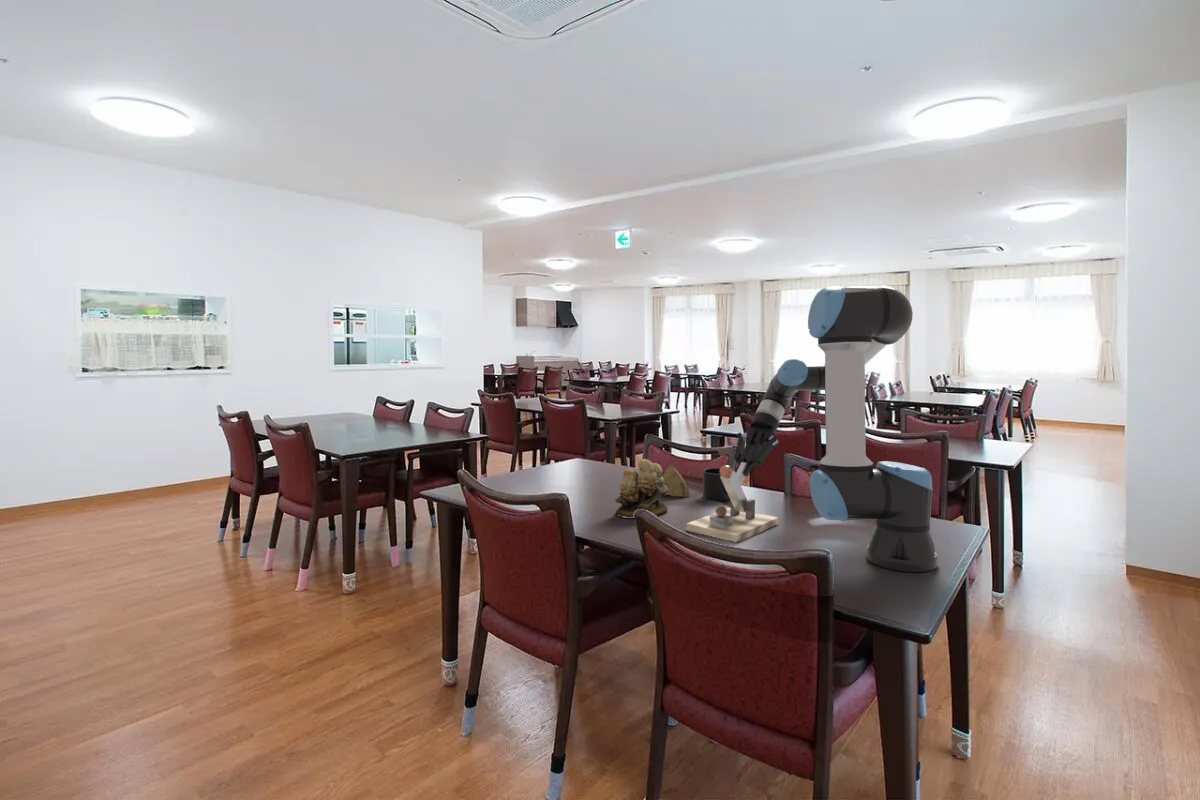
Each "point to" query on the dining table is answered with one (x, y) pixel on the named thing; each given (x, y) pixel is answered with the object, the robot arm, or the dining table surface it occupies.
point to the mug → (714, 485)
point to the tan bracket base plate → (733, 523)
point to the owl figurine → (642, 490)
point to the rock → (675, 483)
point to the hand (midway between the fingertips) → (736, 483)
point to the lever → (733, 488)
